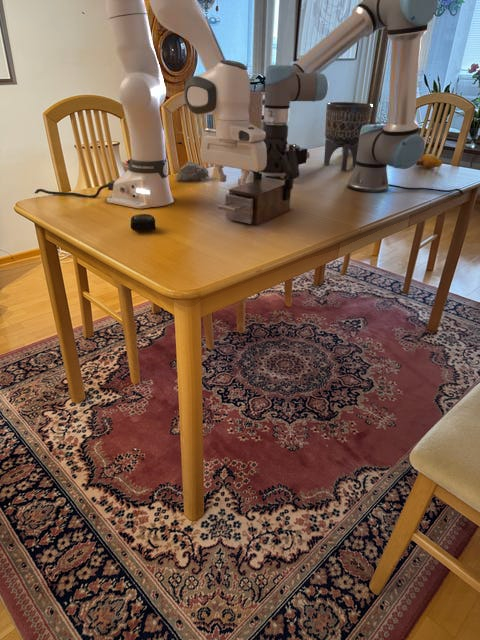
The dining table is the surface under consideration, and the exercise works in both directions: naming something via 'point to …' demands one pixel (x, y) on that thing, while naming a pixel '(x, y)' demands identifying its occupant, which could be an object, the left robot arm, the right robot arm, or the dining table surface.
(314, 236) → the dining table surface
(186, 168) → the rock
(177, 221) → the dining table surface
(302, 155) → the mechanical component
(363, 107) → the planter
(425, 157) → the toy
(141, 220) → the tape measure
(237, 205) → the drawer
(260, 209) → the cabinet
